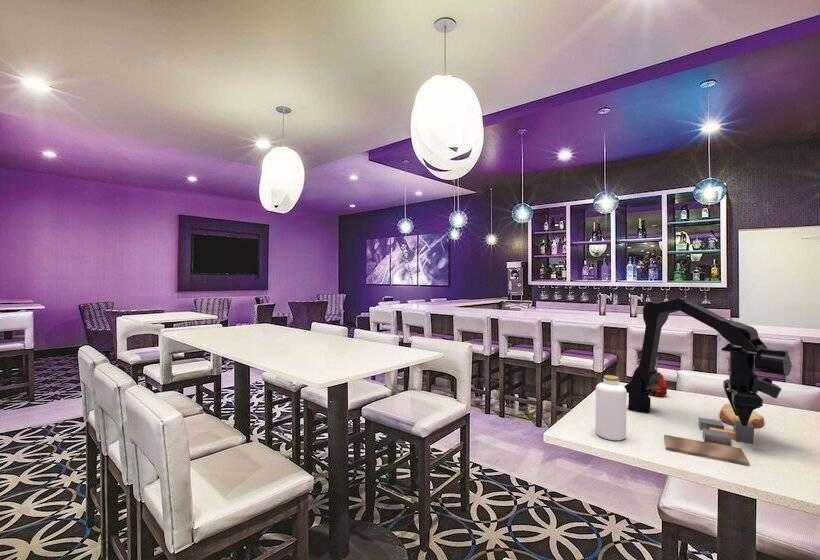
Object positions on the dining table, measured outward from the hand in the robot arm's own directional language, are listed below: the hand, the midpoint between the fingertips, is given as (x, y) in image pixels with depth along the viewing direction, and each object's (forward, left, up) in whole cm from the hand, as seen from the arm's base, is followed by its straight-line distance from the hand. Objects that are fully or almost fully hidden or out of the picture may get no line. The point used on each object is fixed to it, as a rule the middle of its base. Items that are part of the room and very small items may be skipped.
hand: (740, 420), depth 117 cm
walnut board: (-10, -15, -6) cm, 19 cm away
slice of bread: (+3, +23, -6) cm, 24 cm away
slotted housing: (-6, 0, -6) cm, 9 cm away
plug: (-2, 0, -6) cm, 6 cm away
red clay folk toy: (-20, +39, -6) cm, 44 cm away
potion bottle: (-33, -17, -6) cm, 38 cm away
